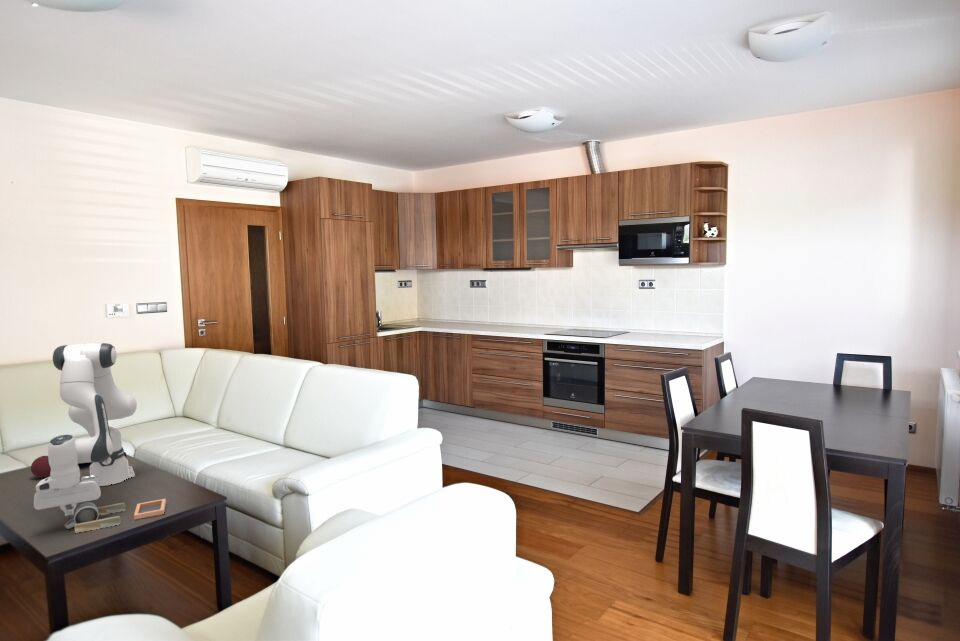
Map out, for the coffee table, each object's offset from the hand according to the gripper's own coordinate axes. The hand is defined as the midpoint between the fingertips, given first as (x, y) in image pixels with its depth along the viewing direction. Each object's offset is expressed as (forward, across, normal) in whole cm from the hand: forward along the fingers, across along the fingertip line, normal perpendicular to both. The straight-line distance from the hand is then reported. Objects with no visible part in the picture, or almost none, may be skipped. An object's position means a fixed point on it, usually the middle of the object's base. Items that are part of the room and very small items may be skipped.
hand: (70, 515), depth 213 cm
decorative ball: (+5, +23, -70) cm, 74 cm away
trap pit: (+5, -26, 0) cm, 26 cm away
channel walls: (+5, -10, 0) cm, 11 cm away
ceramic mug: (+5, -4, 0) cm, 6 cm away
